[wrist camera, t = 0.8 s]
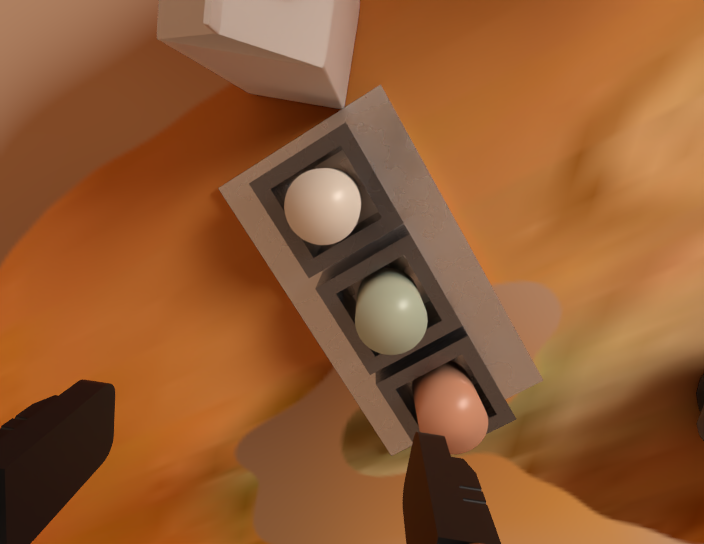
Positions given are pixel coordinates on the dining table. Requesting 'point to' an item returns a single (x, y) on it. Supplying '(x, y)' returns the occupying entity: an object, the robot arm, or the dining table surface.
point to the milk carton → (268, 44)
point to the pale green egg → (390, 312)
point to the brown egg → (450, 407)
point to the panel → (384, 252)
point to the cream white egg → (323, 205)
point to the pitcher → (701, 407)
